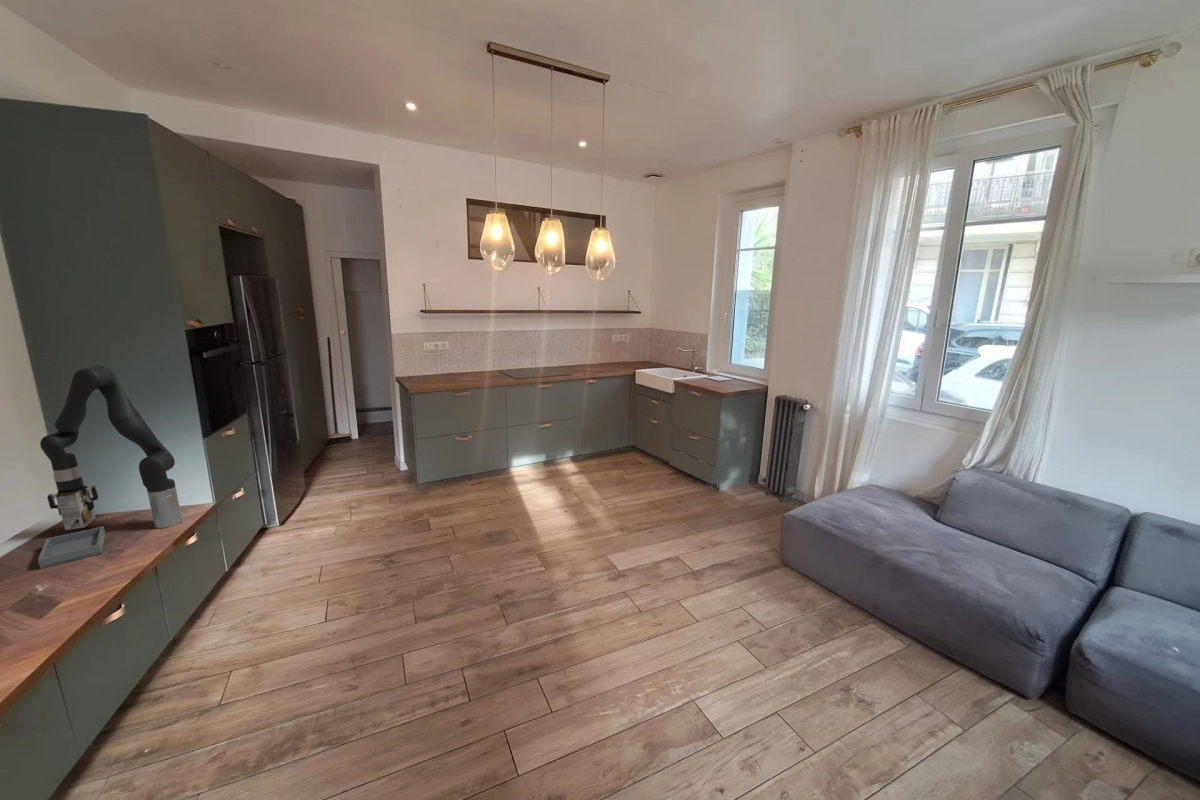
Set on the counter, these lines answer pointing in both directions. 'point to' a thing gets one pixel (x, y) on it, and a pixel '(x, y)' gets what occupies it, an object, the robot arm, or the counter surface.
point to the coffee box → (75, 509)
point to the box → (72, 547)
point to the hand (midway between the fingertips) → (77, 512)
